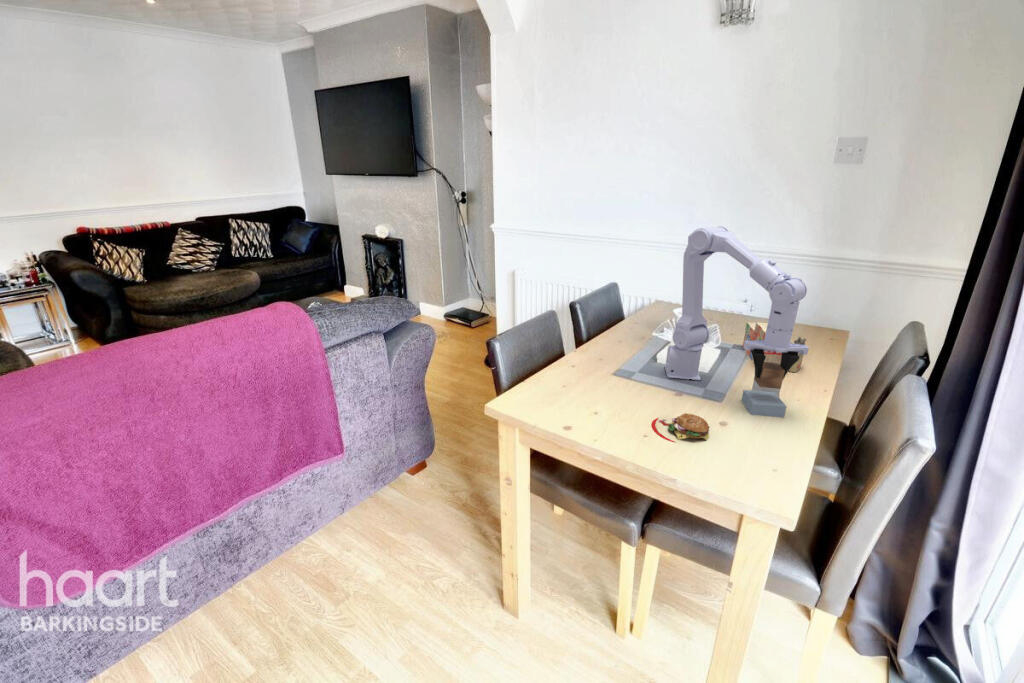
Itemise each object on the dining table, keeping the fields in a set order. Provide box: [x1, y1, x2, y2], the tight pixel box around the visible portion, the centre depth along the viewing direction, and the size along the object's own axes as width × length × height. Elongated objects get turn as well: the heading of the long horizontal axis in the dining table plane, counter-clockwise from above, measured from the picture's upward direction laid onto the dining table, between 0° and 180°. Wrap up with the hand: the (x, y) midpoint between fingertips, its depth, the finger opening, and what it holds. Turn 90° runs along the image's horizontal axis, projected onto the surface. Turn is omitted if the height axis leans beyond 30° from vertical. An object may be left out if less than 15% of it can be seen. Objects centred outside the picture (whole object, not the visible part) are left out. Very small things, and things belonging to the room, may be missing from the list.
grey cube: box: [751, 378, 781, 398], centre depth 135 cm, size 5×5×5 cm
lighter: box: [788, 336, 807, 373], centre depth 150 cm, size 7×4×10 cm, turn 137°
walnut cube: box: [753, 362, 785, 390], centre depth 124 cm, size 5×5×5 cm
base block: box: [740, 389, 788, 418], centre depth 126 cm, size 8×8×4 cm
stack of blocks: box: [742, 322, 782, 364], centre depth 157 cm, size 21×6×12 cm, turn 169°
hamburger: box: [651, 412, 710, 444], centre depth 115 cm, size 14×14×6 cm
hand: (768, 377), depth 124 cm, fingers closed on walnut cube, 5 cm apart
